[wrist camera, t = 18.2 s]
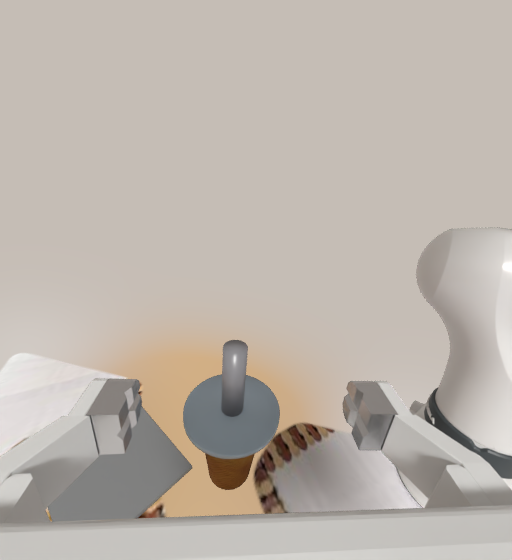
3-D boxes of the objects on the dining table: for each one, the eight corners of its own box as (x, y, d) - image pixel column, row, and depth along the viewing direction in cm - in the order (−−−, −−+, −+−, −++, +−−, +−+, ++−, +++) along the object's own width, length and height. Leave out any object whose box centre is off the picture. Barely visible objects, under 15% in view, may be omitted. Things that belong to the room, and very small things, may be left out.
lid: (233, 365, 45) (235, 310, 41) (297, 411, 37) (308, 348, 33) (163, 411, 36) (158, 345, 32) (230, 484, 28) (235, 410, 24)
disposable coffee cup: (255, 436, 46) (260, 383, 42) (264, 498, 38) (272, 441, 33) (199, 441, 45) (198, 387, 40) (196, 507, 36) (194, 447, 31)
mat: (140, 407, 50) (140, 405, 50) (192, 468, 41) (192, 466, 40) (35, 471, 39) (34, 469, 38) (72, 577, 29) (71, 574, 29)
